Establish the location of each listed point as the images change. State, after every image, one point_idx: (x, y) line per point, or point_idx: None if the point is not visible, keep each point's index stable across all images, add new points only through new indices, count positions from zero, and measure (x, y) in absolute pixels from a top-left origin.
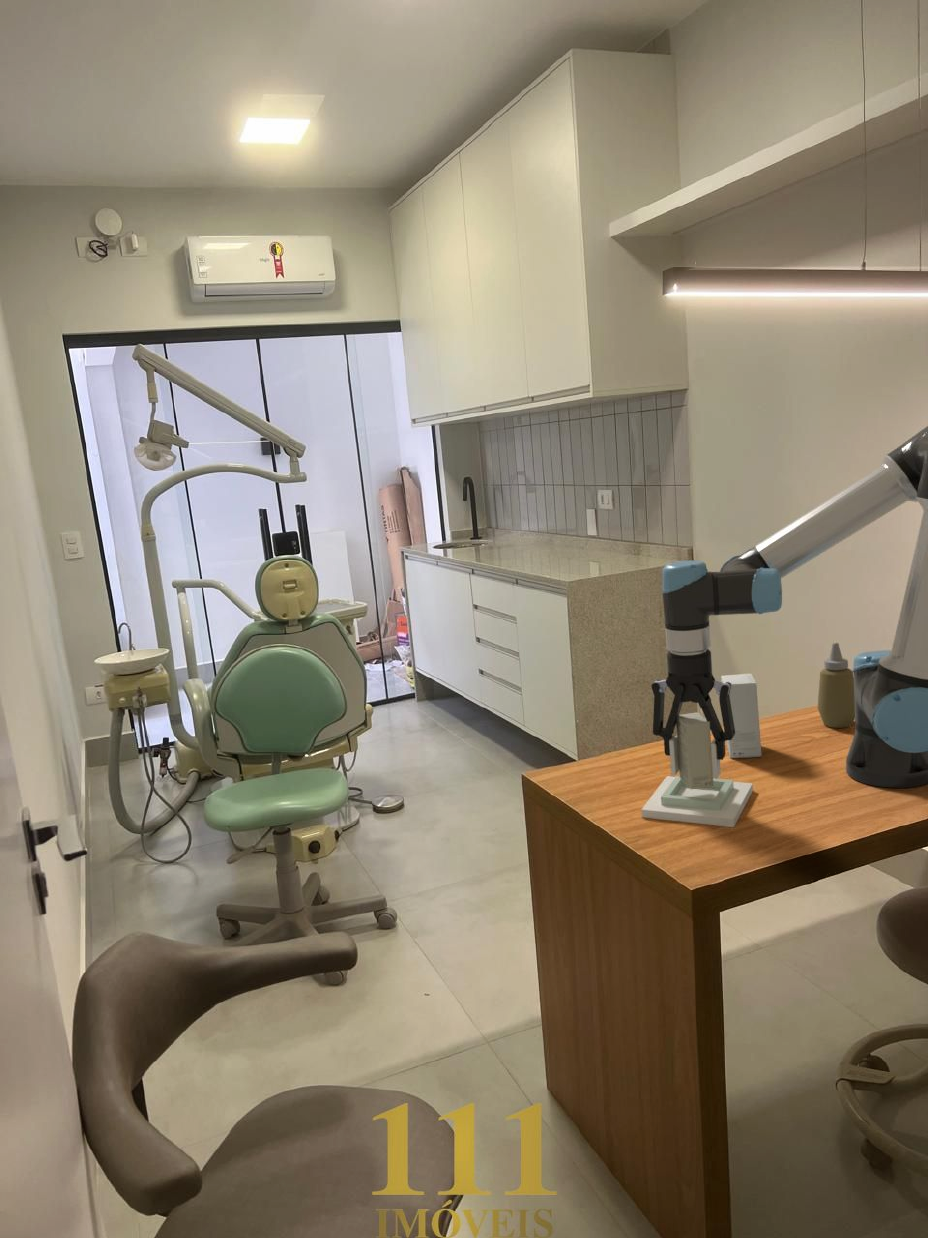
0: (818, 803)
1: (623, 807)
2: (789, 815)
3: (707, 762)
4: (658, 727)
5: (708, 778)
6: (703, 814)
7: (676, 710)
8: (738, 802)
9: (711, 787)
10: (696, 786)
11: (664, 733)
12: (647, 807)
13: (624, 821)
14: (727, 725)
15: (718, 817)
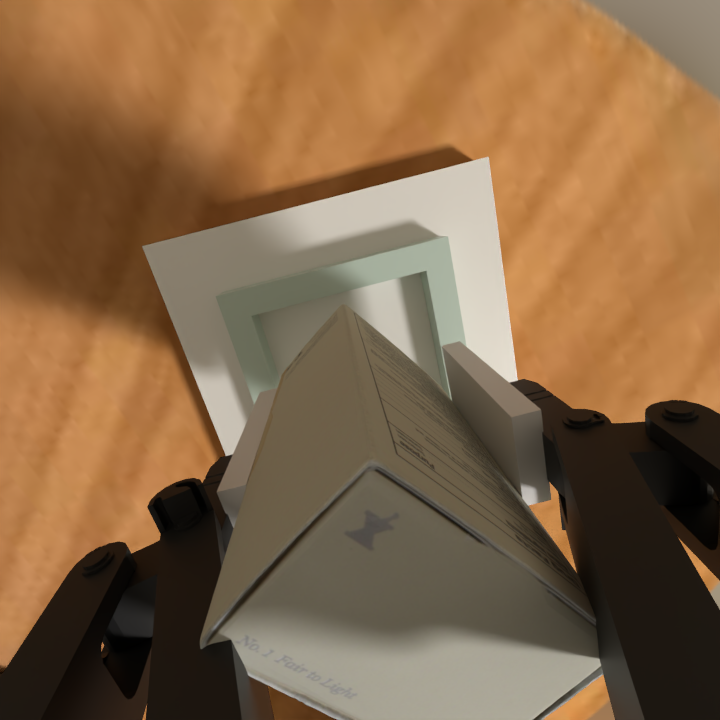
0: (51, 523)
1: (573, 211)
2: (67, 414)
3: (280, 402)
4: (695, 441)
5: (289, 372)
6: (258, 231)
7: (651, 669)
8: (209, 382)
9: None
10: (326, 322)
11: (606, 431)
12: (475, 186)
13: (520, 97)
14: (37, 660)
15: (196, 233)
